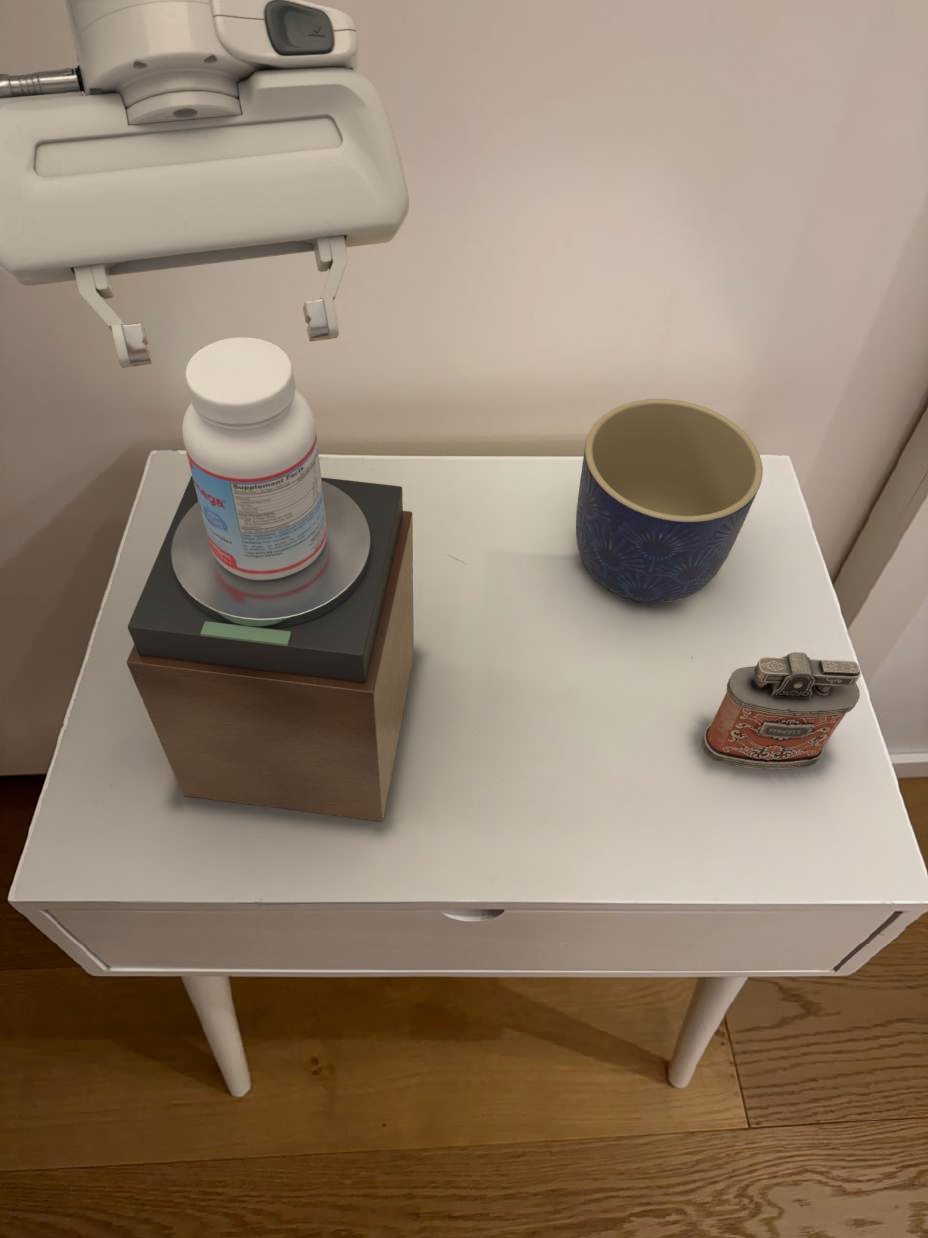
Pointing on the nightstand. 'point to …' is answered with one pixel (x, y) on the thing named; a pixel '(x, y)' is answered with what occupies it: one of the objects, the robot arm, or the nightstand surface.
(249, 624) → the kitchen scale
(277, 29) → the robot arm
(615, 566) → the planter
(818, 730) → the lighter
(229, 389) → the pill bottle
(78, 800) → the nightstand surface
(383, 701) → the walnut riser
